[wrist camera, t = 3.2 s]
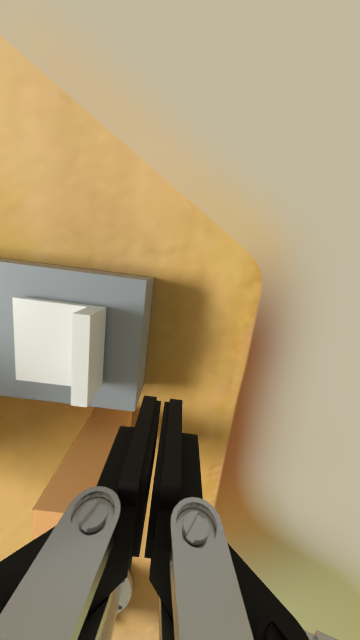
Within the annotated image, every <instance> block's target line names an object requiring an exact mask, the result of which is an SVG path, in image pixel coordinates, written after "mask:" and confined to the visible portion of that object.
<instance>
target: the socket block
mask: <svg viewBox="0 0 360 640" xmlns="http://www.w3.org/2000/svg"><path fill="white" fill-rule="evenodd" d="M153 285H154V277H147V276H139V275H131V274H123V273H115V272H107V271H100V270H92V269H84V268H76V267H68V266H60V265H53V264H45V263H37V262H29V261H21V260H13V259H6V258H0V396H7V397H15V398H24V399H32V400H41V401H49V402H58V403H66V404H71V386H64V385H56V384H48V383H39V382H31V381H22V380H16V369H15V346H14V324H13V301H12V297H17V296H23V297H31V298H39V299H47V300H55V301H63V302H71V303H79V304H87V305H95V306H103V307H106V324H105V344H104V363H103V382H102V386H101V388H100V389H99V391H98V392H97V393H96V395H95V396H94V398H93V399H92V401H91V402H90V404H89V405H88V406H92V407H100V408H109V409H117V410H126V411H134V412H135V409H136V406H137V403H138V400H139V397H140V394H141V391H142V388H143V385H144V377H145V367H146V357H147V346H148V336H149V326H150V316H151V306H152V295H153Z"/></svg>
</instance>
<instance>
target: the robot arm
mask: <svg viewBox="0 0 360 640" xmlns="http://www.w3.org/2000/svg"><path fill="white" fill-rule="evenodd" d="M156 400H157V397H151V396H144V398H143V402H142V405H141V408H140V412H139V415H138V418H137V422H136V425H135V427H128V426H120V427H119V430H118V432H117V435H116V437H115V440H114V442H113V445H112V447H111V450H110V452H109V455H108V458H107V460H106V463H105V465H104V468H103V470H102V473H101V475H100V478H99V481H98V483H97V486H96V487H91V488H89V489H87V490H84V491H82V492H81V493H80V494H79V495H77V496H76V497H75V498H74V499H73V501H72V502H71V503H70V504H69V506H68V507H67V509H66V511H65V512H64V514H63V515H62V517H61V519H60V520H59V522H58V523H57V525H56V526H54V527H53V528H51V529H50V530H48V531H47V532H45V533H44V534H42V535H41V536H39V537H37V538H36V539H34V540H33V541H31V542H30V543H28V544H27V545H25V546H24V547H22V548H21V549H19V550H18V551H16V552H14V553H13V554H11V555H10V556H8V557H7V558H5V559H4V560H2V561H1V562H0V640H112V636H113V631H114V625H115V620H116V615H117V614H118V613H120V612H121V611H122V610H123V609H124V608H125V607H126V606H127V605H128V603H129V601H130V599H131V595H132V588H133V581H132V576H131V574H130V572H129V570H130V567H131V562H132V556H134V557H139V554H140V547H141V541H142V534H143V528H144V521H145V515H146V508H147V502H148V495H149V489H150V482H151V476H152V469H153V463H154V456H155V448H156V439H157V431H158V423H159V414H160V406H161V401H156ZM144 558H151V565H150V577H149V580H150V582H151V583H152V585H153V587H154V589H155V590H156V592H157V594H158V596H159V603H158V604H159V640H337V639H335V638H333V637H330V636H328V635H326V634H324V633H321V632H319V631H316V633H315V635H314V634H311V633H309V632H307V631H305V630H303V628H302V627H301V626H300V624H299V623H298V622H297V620H296V619H295V618H294V617H293V616H292V614H291V613H290V612H289V611H288V610H287V609H286V608H285V607H284V606H283V604H281V602H280V601H279V600H278V599H277V598H276V597H275V596H274V594H273V593H272V592H271V591H270V590H269V589H268V588H267V587H266V585H265V584H264V583H263V582H262V581H261V580H260V579H259V578H258V577H257V575H256V574H255V573H254V572H253V571H252V570H251V569H250V568H249V567H248V565H247V564H246V563H245V562H244V561H243V560H242V559H241V558H240V556H239V555H238V554H237V553H236V552H235V551H234V550H233V549H232V548H231V546H230V545H229V544H228V543H227V540H226V537H225V533H224V529H223V525H222V522H221V520H220V517H219V514H218V513H217V511H216V510H215V509H214V507H213V506H212V505H211V504H209V503H208V502H207V501H205V500H203V498H202V485H201V472H200V459H199V445H198V436H197V435H195V434H187V433H182V400H176V399H170V402H165V404H164V412H163V419H162V426H161V433H160V440H159V447H158V455H157V462H156V469H155V476H154V484H153V491H152V500H151V508H150V516H149V524H148V532H147V541H146V549H145V557H144Z"/></svg>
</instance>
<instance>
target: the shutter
mask: <svg viewBox="0 0 360 640" xmlns="http://www.w3.org/2000/svg"><path fill="white" fill-rule="evenodd" d="M12 301H13V324H14V346H15V369H16V380H22V381H31V382H39V383H48V384H56V385H64V386H71V406H79V407H88V405H89V404H90V402H91V401H92V399H93V398H94V396H95V395H96V393H97V392H98V391H99V389H100V388H101V386H102V382H103V363H104V344H105V324H106V307H103V306H95V305H87V304H79V303H71V302H63V301H55V300H47V299H39V298H31V297H23V296H17V297H12Z"/></svg>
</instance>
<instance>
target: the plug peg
mask: <svg viewBox="0 0 360 640" xmlns="http://www.w3.org/2000/svg"><path fill="white" fill-rule="evenodd" d="M132 412H133V411H126V410H117V409H109V408H100V407H95V409H94V411H93V412H92V414H91V416H90V417H89V419H88V420H87V422H86V424H85V425H84V427H83V428H82V430H81V432H80V433H79V435H78V437H77V438H76V440H75V441H74V443H73V445H72V446H71V448H70V449H69V451H68V453H67V454H66V456H65V458H64V459H63V461H62V462H61V464H60V466H59V467H58V469H57V470H56V472H55V474H54V475H53V477H52V478H51V480H50V482H49V483H48V485H47V487H46V488H45V490H44V491H43V493H42V495H41V496H40V498H39V499H38V501H37V503H36V504H35V506H34V508H33V509H32V520H33V540H34V539H36V538H37V537H39V536H41V535H42V534H44V533H45V532H47V531H48V530H50V529H51V528H53V527H54V526H56V525H57V523H58V522H59V520H60V519H61V517H62V515H63V514H64V512H65V511H66V509H67V507H68V506H69V504H70V503H71V502H72V501H73V499H74V498H75V497H76V496H77V495H79V494H80V493H81V492H82V491H84V490H87V489H89V488H91V487H96V486H97V483H98V481H99V478H100V475H101V473H102V470H103V468H104V465H105V463H106V460H107V458H108V455H109V452H110V450H111V447H112V445H113V442H114V440H115V437H116V435H117V432H118V430H119V427H120V426H128V427H131V424H132Z"/></svg>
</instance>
